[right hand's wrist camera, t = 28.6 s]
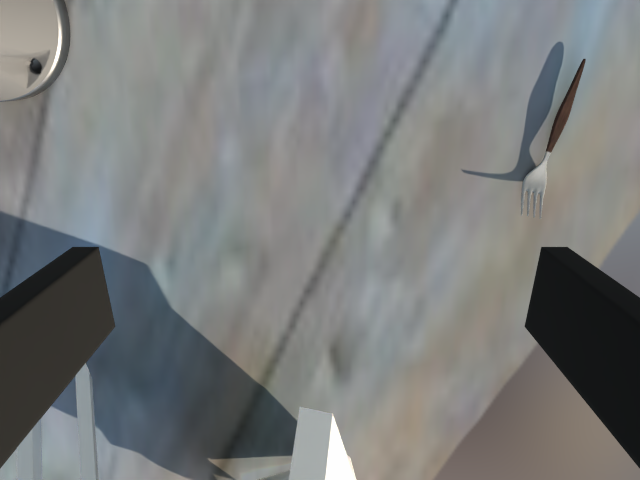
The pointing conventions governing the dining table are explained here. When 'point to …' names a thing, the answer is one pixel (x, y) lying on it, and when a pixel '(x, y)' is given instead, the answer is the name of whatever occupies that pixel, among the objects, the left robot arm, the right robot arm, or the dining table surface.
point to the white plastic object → (304, 476)
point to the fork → (549, 148)
